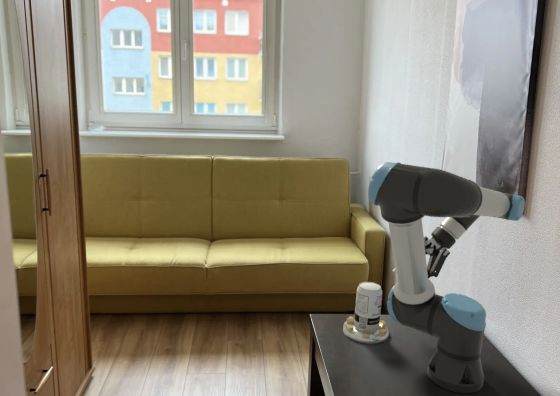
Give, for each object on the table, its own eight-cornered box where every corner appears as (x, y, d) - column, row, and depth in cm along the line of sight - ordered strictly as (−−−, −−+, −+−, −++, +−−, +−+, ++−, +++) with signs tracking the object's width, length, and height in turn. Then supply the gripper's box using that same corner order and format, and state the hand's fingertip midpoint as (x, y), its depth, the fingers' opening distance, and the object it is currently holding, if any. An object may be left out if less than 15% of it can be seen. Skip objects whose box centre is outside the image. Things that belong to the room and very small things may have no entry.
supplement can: (353, 321, 166) (357, 280, 163) (378, 323, 165) (382, 282, 162) (353, 332, 158) (357, 289, 155) (379, 335, 157) (383, 292, 154)
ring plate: (396, 332, 163) (397, 324, 162) (374, 349, 151) (375, 340, 151) (358, 317, 172) (358, 309, 171) (334, 332, 161) (334, 323, 160)
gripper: (476, 252, 148) (429, 302, 149) (436, 230, 172) (395, 274, 173) (461, 236, 146) (413, 288, 147) (422, 216, 170) (381, 261, 171)
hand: (403, 280), depth 160 cm, fingers open, 13 cm apart
